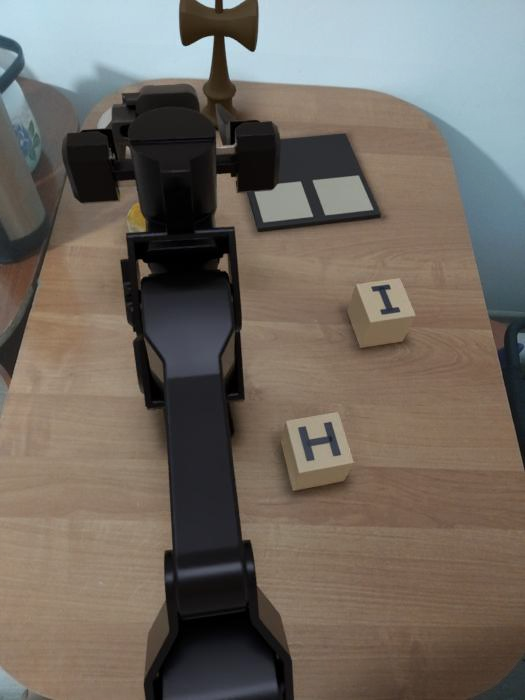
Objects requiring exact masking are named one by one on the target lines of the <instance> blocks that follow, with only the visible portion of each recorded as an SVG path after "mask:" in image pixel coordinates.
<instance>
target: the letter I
mask: <svg viewBox="0 0 525 700" xmlns="http://www.w3.org/2000/svg"><path fill="white" fill-rule="evenodd" d="M353 289H354V290H353V292H352V295H351V298H350V301H349V305H348V308H347V310H346V311H347V315H348V318H349V321H350V323H351V326H352V329H353V332H354V335H355V337H356V340H357V343H358V346H359V349H363V348H370V347H375V346H376V347H377V346H383V345H388V344H396V343H401V342H404V340H405V338H406V336H407V334H408V333H409V330H410V328H411V326H412V324H413V323H414V321H415V319H416V316H417V314H416V312H415V310H414V307H413V305H412V303H411V301H410V298H409V296H408V294H407V291H406V289H405V287H404V285H403V282H402V280H401V278H400V277H398V278H391V279H384V280H376V281H368V282H362V283H356V284H355V286H354V288H353Z"/></svg>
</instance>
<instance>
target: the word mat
mask: <svg viewBox="0 0 525 700" xmlns="http://www.w3.org/2000/svg"><path fill="white" fill-rule="evenodd" d="M280 142H281V153H280V169H279V183H278V184H277V186H276V187H275V188H274V189H273V190H272V191H260V192H246V193H247V197H248V200H249V204H250V206H251V211H252V215H253V218H254V221H255V225H256V229H257V232H266V231H275V230H284V229H291V228H300V227H309V226H317V225H325V224H335V223H343V222H344V223H345V222H352V221H361V220H369V219H376V218H377V219H378V218H381V214H382V213H381V210H380V208H379V207H378V204H377V201H376V199H375V197H374V195H373V193H372V190H371V187H370V186H369V184H368V181H367V179H366V177H365V175H364V172H363V170H362V167H361V165H360V163H359V161H358V159H357V156H356V154H355V152H354V149H353V147H352V145H351V143H350V140H349V138H348V136H347V133H333V134H323V135H311V136H300V137H291V138H290V137H289V138H280Z"/></svg>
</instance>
